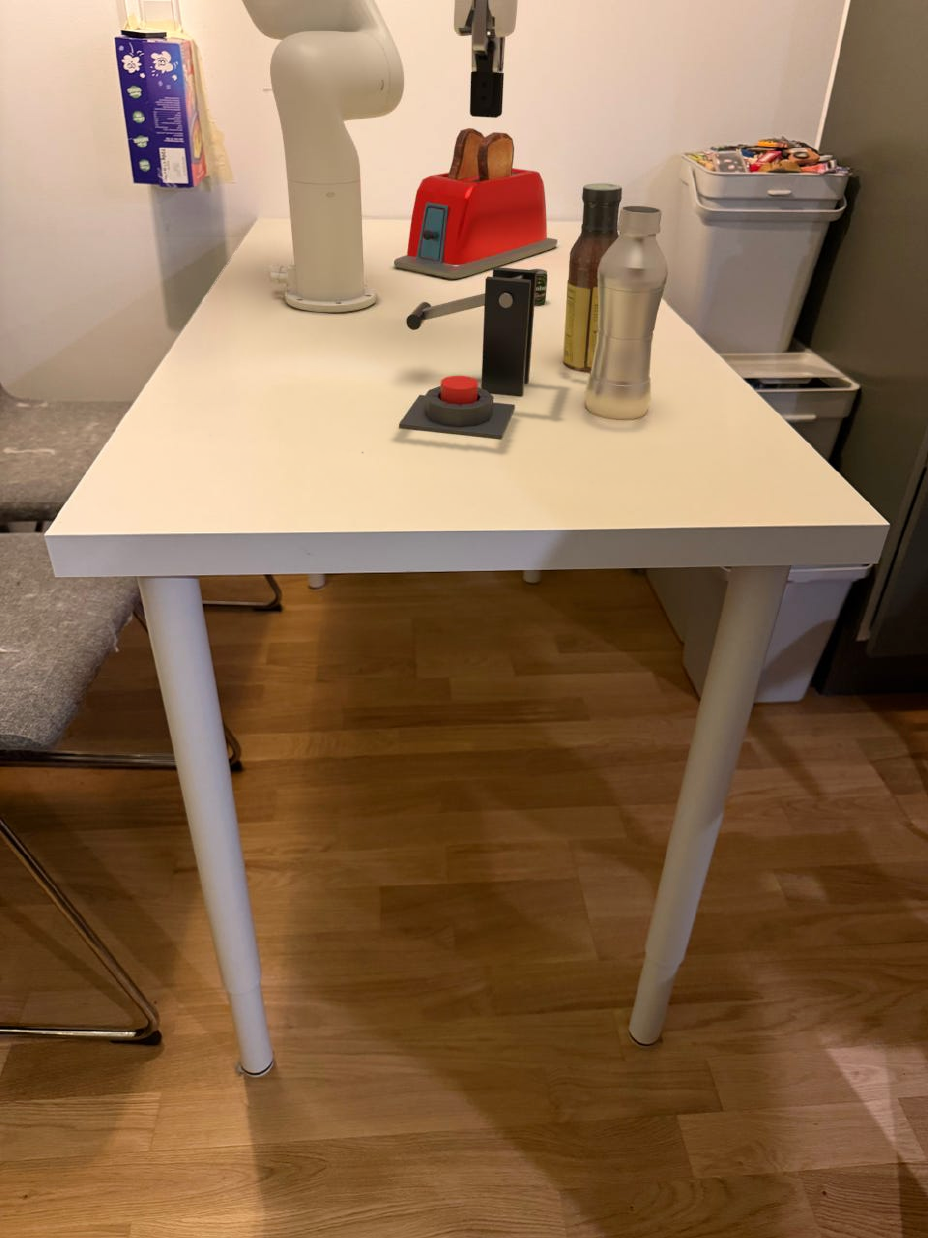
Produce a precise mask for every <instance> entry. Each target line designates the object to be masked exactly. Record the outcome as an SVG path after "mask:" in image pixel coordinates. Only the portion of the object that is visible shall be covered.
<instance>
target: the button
mask: <svg viewBox="0 0 928 1238" xmlns="http://www.w3.org/2000/svg"><path fill="white" fill-rule="evenodd" d="M440 386H441V401H444V402H447V403H450V404H459V405H462V404H472V403H474V402H477V398H478V387H479V381H478V380H477V379H476V378H473V377H470V376H465V375H450V376H446V377H444V378H442V379H441V381H440Z"/></svg>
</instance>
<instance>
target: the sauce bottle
mask: <svg viewBox="0 0 928 1238" xmlns="http://www.w3.org/2000/svg"><path fill="white" fill-rule="evenodd" d="M622 195H623V187H622V186H621V185H619V184H613V183H607V182H606V183H605V182H601V183H600V182H599V183H598V182H597V183H587V184H585V185H583V186H582V193H581V200H582V203H583V209H582V223H581V226H580V229H581V230H580V231H581V232H580V234H579V236H578V237H577V239H576V241H575V242H574V244H573V246H572V247H571V249H570V252H569V261H568V278H567V283H566V302H565V321H564V322H565V323H564V337H563V338H564V339H563V356H562V357H563V358H562V360H563V363H564V364H565V366H566V367H568V368H569V369H571V370H574V371H578V372H582V373H587V374H590V371H591V368H592V363H593V357H594V352H595V347H596V341H597V329H598V309H599V307H598V278H597V276H598V266H599V264H600V261H601V258H602V257H603V255H604V254H605V253H606V251H607V250H608V248H609V247H610V246H611V245H612V244H613V243H614V241H615V240H616V239H617V238H618V237H619V231H618V230H617V224H618V223H619V213H620V210H619V209H620V203H621V201H622V199H623V197H622Z"/></svg>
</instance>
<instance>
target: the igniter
mask: <svg viewBox="0 0 928 1238" xmlns="http://www.w3.org/2000/svg"><path fill="white" fill-rule="evenodd" d="M515 409H516V404H512V403H503V402H495V401H494V395H493V394H490V393H489V392H488V391H487V390H484V389H482V388H481V387H479V386H478V398H477V402H474V403H472V404H462V405H459V404H450V403H447V402H444V401H441V385H439V386H436V387H434V388H433V387H432V388H431V389H428V390H427V392H426V393H425V394H419V395H418V396H417V398H416V399H415V400H414V402H413V403H412V405H411V406H410V408H409V409H408V410H407V412H406V413H405V415H404V416H403V417H402V419H401V420H400V422H399V423H398V428H399V429H402V430H413V431H420V432H429V433H430V432H431V433H438V434H439V433H440V434H447V435H457V436H464V437H474V438H484V439H493V440H502V439H503V438H504V435H505V433H506V431H507V427H508V425H509V423H510V421H511V419H512V416H513V415H514V412H515Z"/></svg>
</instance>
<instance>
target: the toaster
mask: <svg viewBox="0 0 928 1238" xmlns="http://www.w3.org/2000/svg"><path fill="white" fill-rule="evenodd" d="M514 157H515V145H514V140H513V138H512V137H511V136H510V135H509V134H508V133H507V132H494V131H493V132H491V133H489V134H488V135H486V136H484V134H483V133H482V132H480V131H479V130H477V129H475V128H473V127H468V128H463V129H460V132H459V133H458V135H457V136H456V139H455V145H454V149H453V156H452V162H451V164H450V168H449V171H448V172H444V173H438V174H434V175H429V176H427V177H424V178H423V179H422V180H421V181H420V184H419V186H418V188H417V189H416V193H415V197H414V203H413V210H412V214H411V218H410V219H411V220H410V226H409V227H410V228H409V233H408V235H409V236H408V243H407V253H406V255H404V256H403V255H402V256H400V257H398V258H395V260H393V266H394V267H396V268H398V269H401V270H407V271H412V272H415V273H421V274H425V275H429V276H433V277H435V276H436V277H439V278H443V279H444V278H445V279H450V280H455V279H461V278H465V277H468V276H471V275H475V274H479V273H482V272H484V271H485V272H486V271H487V270H491V269H494V268H495V267H500V266H503V265H506V264H509V263H511V262H512V263H513V262H516V261H519V260H522V259H524V258H528V257H531V256H534V255H537V254H540V253H544V252H546V251H550V250H551V249H554V248H556V246H557V245H558V239H557V238H551V237H548V223H547V220H548V219H547V202H546V201H547V200H546V193H545V191H546V190H545V183H544V180H543V178H542V175H541V174H540V172H538V171H535V170H529V169H521V168H513V165H514V159H515V158H514Z"/></svg>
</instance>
